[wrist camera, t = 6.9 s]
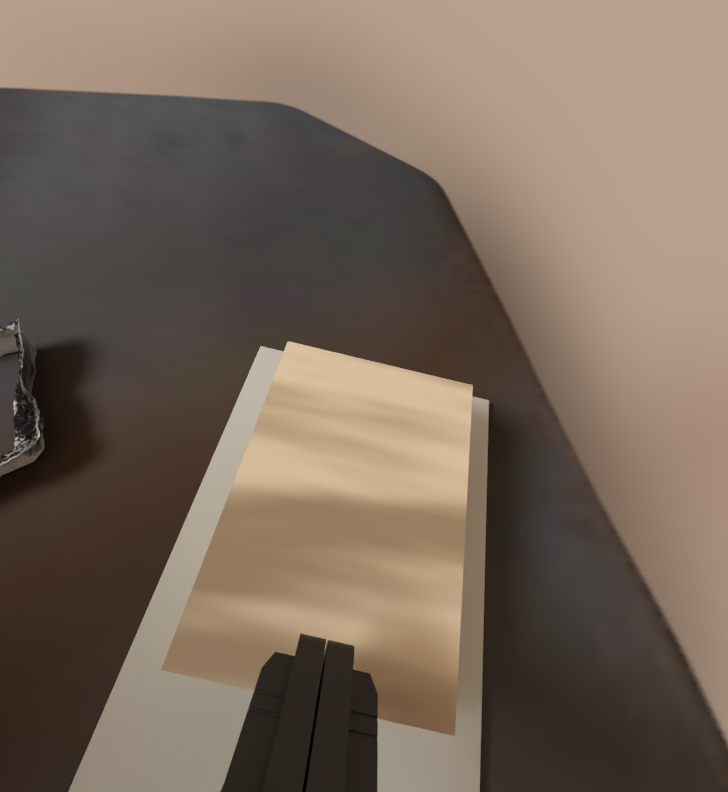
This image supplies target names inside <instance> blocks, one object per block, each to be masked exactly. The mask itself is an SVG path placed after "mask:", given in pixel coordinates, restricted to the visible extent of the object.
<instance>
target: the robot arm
mask: <svg viewBox="0 0 728 792" xmlns="http://www.w3.org/2000/svg"><path fill="white" fill-rule="evenodd" d="M325 645H326V639H323V638H319V637H314V636H310V635H305V634H301V633H300V637H299V641H298V645H297V649H296V653H295V656H292V655H288V654H283V653H279V652H275V653H274V654H273V655H272V656H271V657H270V659H269V660H268V661H267V662H266V663H265V664H264V666H263V667H262V668H261V671H260V674H259V677H258V680H257V684H256V687H255V690H254V693H253V696H252V699H251V702H250V705H249V708H248V711H247V714H246V717H245V720H244V723H243V726H242V729H241V733H240V736H239V739H238V742H237V745H236V748H235V751H234V754H233V757H232V760H231V763H230V766H229V769H228V772H227V775H226V779H225V782H224V784H223V787H222V789H221V791H220V792H377V765H378V741H377V736H378V721H377V717H378V693H377V691H376V688H375V685H374V683H373V680H372V677H371V675H370V673H366V672H362V671H357V670H353V664H354V646H353V645H349V644H344V643H340V642H335V641H331V640H328V642H327V645H326V649H325ZM324 651H325V653H324Z"/></svg>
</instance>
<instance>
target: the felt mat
mask: <svg viewBox="0 0 728 792" xmlns="http://www.w3.org/2000/svg"><path fill="white" fill-rule="evenodd" d="M283 353H284V352H283V351H279V350H275V349H271V348H266V347H262V346H260V349H259V351H258V353H257V356H256V358H255V360H254V363H253V365H252V367H251V370H250V372H249V374H248V377H247V379H246V381H245V383H244V386H243V388H242V390H241V393H240V395H239V397H238V400H237V402H236V404H235V407H234V409H233V411H232V414H231V416H230V418H229V421H228V423H227V425H226V427H225V430H224V432H223V434H222V437H221V439H220V441H219V444H218V446H217V448H216V451H215V453H214V455H213V458H212V460H211V462H210V465H209V467H208V469H207V472H206V474H205V476H204V478H203V481H202V483H201V485H200V488H199V490H198V492H197V495H196V497H195V499H194V502H193V504H192V506H191V509H190V511H189V513H188V516H187V518H186V520H185V523H184V525H183V527H182V529H181V532H180V534H179V536H178V539H177V541H176V543H175V546H174V548H173V550H172V553H171V555H170V557H169V560H168V562H167V564H166V567H165V569H164V571H163V573H162V576H161V578H160V580H159V583H158V585H157V587H156V590H155V592H154V594H153V597H152V599H151V601H150V604H149V606H148V608H147V611H146V613H145V615H144V618H143V620H142V622H141V624H140V627H139V629H138V631H137V634H136V636H135V638H134V641H133V643H132V645H131V648H130V650H129V652H128V655H127V657H126V659H125V662H124V664H123V666H122V668H121V671H120V673H119V675H118V678H117V680H116V682H115V685H114V687H113V689H112V692H111V694H110V696H109V699H108V701H107V703H106V706H105V708H104V710H103V713H102V715H101V717H100V719H99V722H98V724H97V726H96V729H95V731H94V733H93V736H92V738H91V740H90V743H89V745H88V747H87V750H86V752H85V754H84V757H83V759H82V761H81V763H80V766H79V768H78V770H77V773H76V775H75V777H74V780H73V782H72V784H71V787H70V789H69V791H68V792H220V791H221V789H222V787H223V784H224V782H225V779H226V775H227V772H228V769H229V766H230V763H231V760H232V757H233V754H234V751H235V748H236V745H237V742H238V739H239V736H240V733H241V729H242V726H243V723H244V720H245V717H246V714H247V711H248V708H249V705H250V702H251V699H252V696H253V693H254V691H253V690H248V689H244V688H239V687H235V686H230V685H226V684H221V683H217V682H213V681H208V680H204V679H199V678H195V677H190V676H186V675H182V674H177V673H173V672H168V671H164V670H161V668H162V666H163V663H164V661H165V658H166V656H167V653H168V650H169V648H170V645H171V643H172V640H173V637H174V635H175V632H176V630H177V627H178V624H179V622H180V619H181V617H182V614H183V612H184V609H185V606H186V604H187V601H188V599H189V596H190V593H191V591H192V588H193V586H194V583H195V580H196V578H197V575H198V573H199V570H200V568H201V565H202V562H203V560H204V557H205V555H206V552H207V549H208V547H209V544H210V542H211V539H212V536H213V534H214V531H215V529H216V526H217V524H218V521H219V518H220V516H221V513H222V511H223V508H224V505H225V503H226V500H227V498H228V495H229V492H230V490H231V487H232V485H233V482H234V480H235V477H236V474H237V472H238V469H239V467H240V464H241V461H242V459H243V456H244V454H245V451H246V448H247V446H248V443H249V441H250V438H251V436H252V433H253V430H254V428H255V425H256V423H257V420H258V417H259V415H260V412H261V410H262V407H263V404H264V402H265V399H266V397H267V394H268V392H269V389H270V386H271V384H272V381H273V379H274V376H275V373H276V371H277V368H278V366H279V363H280V360H281V358H282V355H283ZM488 419H489V400H485V399H481V398H477V397H472V411H471V430H470V450H469V470H468V489H467V509H466V528H465V548H464V568H463V587H462V607H461V627H460V646H459V666H458V685H457V705H456V725H455V736H452V735H448V734H443V733H439V732H434V731H430V730H426V729H421V728H417V727H412V726H408V725H403V724H399V723H394V722H390V721H386V720H381V719H377V721H378V736H377V741H378V765H377V792H480V758H481V715H482V673H483V631H484V588H485V546H486V503H487V461H488Z"/></svg>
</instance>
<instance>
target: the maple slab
mask: <svg viewBox="0 0 728 792" xmlns="http://www.w3.org/2000/svg"><path fill="white" fill-rule="evenodd" d="M472 391H473V385H469V384H465V383H461V382H457V381H452V380H448V379H444V378H440V377H436V376H431V375H427V374H423V373H419V372H415V371H410V370H406V369H402V368H398V367H394V366H390V365H385V364H381V363H377V362H373V361H369V360H364V359H360V358H356V357H352V356H348V355H343V354H339V353H335V352H331V351H327V350H322V349H318V348H314V347H310V346H306V345H301V344H297V343H293V342H289V341H288V342H287V345H286V348H285V350H284V353H283V355H282V358H281V360H280V363H279V366H278V368H277V371H276V373H275V376H274V379H273V381H272V384H271V386H270V389H269V392H268V394H267V397H266V399H265V402H264V404H263V407H262V410H261V412H260V415H259V417H258V420H257V423H256V425H255V428H254V430H253V433H252V436H251V438H250V441H249V443H248V446H247V448H246V451H245V454H244V456H243V459H242V461H241V464H240V467H239V469H238V472H237V474H236V477H235V480H234V482H233V485H232V487H231V490H230V492H229V495H228V498H227V500H226V503H225V505H224V508H223V511H222V513H221V516H220V518H219V521H218V524H217V526H216V529H215V531H214V534H213V536H212V539H211V542H210V544H209V547H208V549H207V552H206V555H205V557H204V560H203V562H202V565H201V568H200V570H199V573H198V575H197V578H196V580H195V583H194V586H193V588H192V591H191V593H190V596H189V599H188V601H187V604H186V606H185V609H184V612H183V614H182V617H181V619H180V622H179V624H178V627H177V630H176V632H175V635H174V637H173V640H172V643H171V645H170V648H169V650H168V653H167V656H166V658H165V661H164V663H163V666H162V668H161V670H164V671H168V672H173V673H177V674H182V675H186V676H190V677H195V678H199V679H204V680H208V681H213V682H217V683H221V684H226V685H230V686H235V687H239V688H244V689H248V690H253V691H254V690H255V687H256V684H257V680H258V677H259V674H260V671H261V668H262V667H263V666H264V664H265V663H266V662H267V661H268V660H269V659H270V657H271V656H272V655H273V654H274V653H275V652H279V653H283V654H288V655H292V656H295V653H296V649H297V645H298V641H299V637H300V633H301V634H305V635H310V636H314V637H319V638H323V639H326V645H327V642H328V640H331V641H335V642H340V643H344V644H349V645H353V646H354V664H353V670H357V671H362V672H366V673H370V675H371V677H372V680H373V683H374V685H375V688H376V691H377V693H378V717H377V719H381V720H386V721H390V722H394V723H399V724H403V725H408V726H412V727H417V728H421V729H426V730H430V731H434V732H439V733H443V734H448V735H452V736H455V725H456V705H457V685H458V666H459V646H460V627H461V607H462V587H463V568H464V548H465V528H466V509H467V489H468V470H469V450H470V430H471V411H472ZM326 645H325V649H326ZM324 653H325V651H324Z"/></svg>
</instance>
